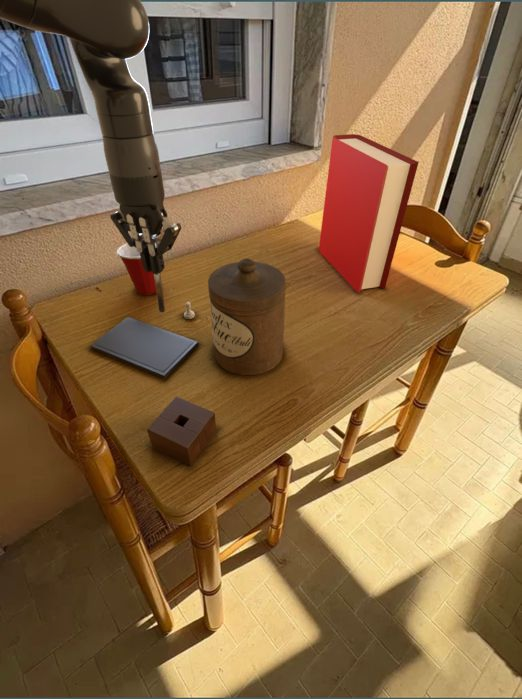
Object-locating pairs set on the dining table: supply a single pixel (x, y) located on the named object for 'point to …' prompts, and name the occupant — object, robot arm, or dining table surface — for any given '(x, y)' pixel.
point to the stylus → (159, 292)
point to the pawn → (189, 311)
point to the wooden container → (247, 316)
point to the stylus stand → (182, 430)
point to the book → (364, 208)
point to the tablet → (145, 346)
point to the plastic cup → (137, 270)
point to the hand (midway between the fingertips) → (154, 271)
